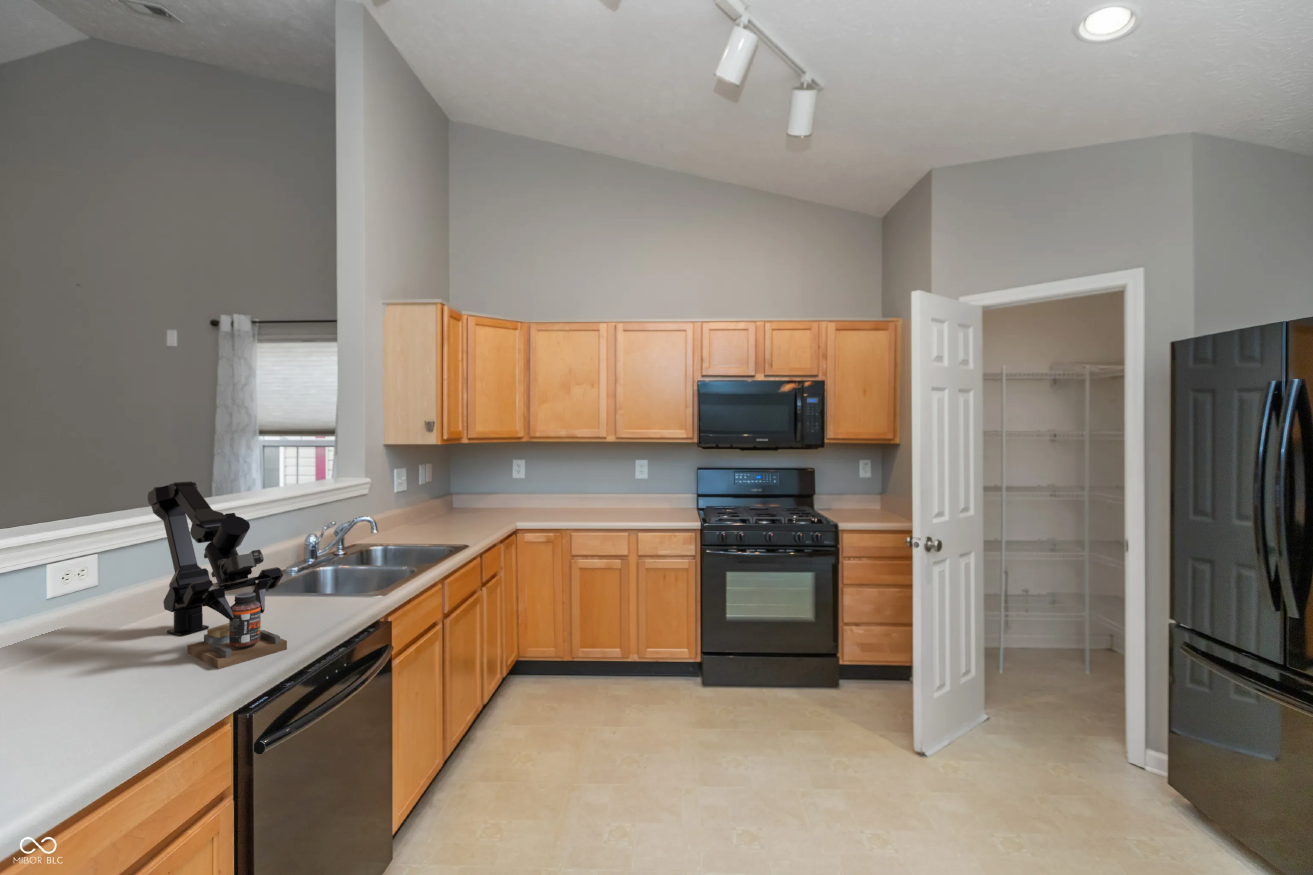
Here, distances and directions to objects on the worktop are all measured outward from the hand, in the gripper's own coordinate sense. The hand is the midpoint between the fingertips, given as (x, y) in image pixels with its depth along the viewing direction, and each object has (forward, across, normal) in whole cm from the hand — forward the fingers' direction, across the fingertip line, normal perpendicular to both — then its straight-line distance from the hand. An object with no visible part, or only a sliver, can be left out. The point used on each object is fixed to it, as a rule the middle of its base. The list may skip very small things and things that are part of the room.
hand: (247, 615), depth 136 cm
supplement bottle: (+4, 0, +6) cm, 7 cm away
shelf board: (+3, 0, +10) cm, 11 cm away
